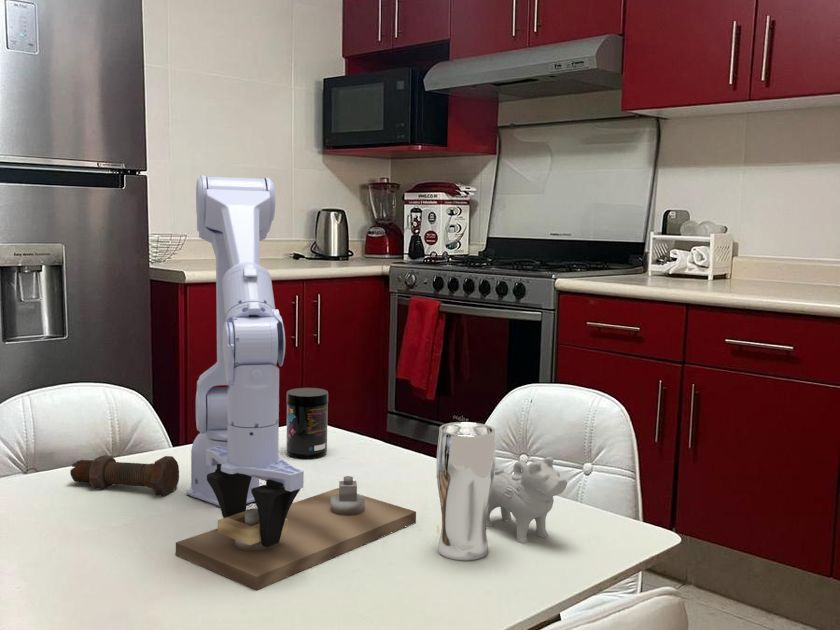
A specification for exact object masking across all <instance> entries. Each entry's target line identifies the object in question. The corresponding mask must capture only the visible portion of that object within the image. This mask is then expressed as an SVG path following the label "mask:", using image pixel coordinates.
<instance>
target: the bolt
mask: <svg viewBox="0 0 840 630" xmlns="http://www.w3.org/2000/svg"><path fill="white" fill-rule="evenodd" d="M71 467H73V468H71V469H70V470H69V471H70V477H71V479H72V480H73V481H74V482H77V483H86V484H89V483H90V485H91V486H92V487H93V488H94V489H96V490H106V489H108V488H110V487H112V486H114V485H117V486H128V487H141V488H142V487H144V488H145V487H146V488H148V489H152V490H153V492H154V495H155V496H156V497H167V496H169V495H172V494H173V493H174V492H175V490H176V488H177V487H178V485H179V480H180V467H179V463H178V461H177V460H176V458H175V457H173V456H171V455H164V456H162V457H161V458H159V459H156V460H155V461H154V462H153V463H143V462H141V463H140V462H121V461H120V462H119V461H116V459H115V458H114V457H113V456H112V455H108V454H105V455H100V456H98V457H96V458H94V459H93V460H90V459H89V460H88V459H80V460H76V462H73V463H72V464H71Z"/></svg>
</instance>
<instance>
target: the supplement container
mask: <svg viewBox="0 0 840 630" xmlns="http://www.w3.org/2000/svg"><path fill="white" fill-rule="evenodd" d="M328 403H329V391H328V390H326V389H324V388H317V387H302V388H301V387H299V388H292V389H289V390H287V391H286V453H287V455H289V456H290V457H291V458H293V459H300V460H309V459H310V460H311V459H318V458H321V457H324V456H325V455H326V453H327V452H328V413H329V412H328V408H329V407H328V405H329V404H328Z"/></svg>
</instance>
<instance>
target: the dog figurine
mask: <svg viewBox="0 0 840 630" xmlns="http://www.w3.org/2000/svg"><path fill="white" fill-rule="evenodd" d="M554 460H555V459H554V458H553V457H552V456H547V457H544V458H543V459H540V460H535V461H531V463H529V464H527V463H526V462H524V461H523V460H518V461H516V462H515V463H514V465H513V472H514V473H513V474H510V473H509V472H507V471H504V470H505V469H504V468H503V467H500V466H496V465H495V476H494V482H493V488H492V493H491V498H490V502H489V506H488V511H487V517H486V529H487V528H493V526H494V525H493V523H492V521H491V517H490V516H491V513H492V511H493V510H495V509H497V508H500V515H501V519H502V520H503V521H505V522H511V521H513V520H512V519H513V518H512V516H513V517H514V519H515V520H516V543H520V544H523V545H524V544H528V541H529V540H528V538H527V535H528V531H529V527H530V524H531V522H532V521H533V520H535V532H536V535H537V536H539V537H545V538H546V537H548V536H549V535H548V531H547V528H546V520H547V519H546V518H547V515H548V513H549V512H550V511H551V510H552V508H553V505H554V501H555V499H554V497H555V496H559V495H561V494H562V493H564V491H565V490H566V488H567V485H568V481H567V480H566V479H565V478H562V477H561V474H560V471H558V470H556V469H555V468H554V466H553V464H554Z"/></svg>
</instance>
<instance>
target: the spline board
mask: <svg viewBox="0 0 840 630" xmlns="http://www.w3.org/2000/svg"><path fill="white" fill-rule="evenodd" d="M338 482H339V483H338V487H337V488H333V489H331V490H328V491H325V492H322V493H320V494H319V493H318V494H316V495H313V496H309V497H307V498H304V499H301V500H298V501H295V502H292V504H291V506H290V509H289V511H288V513H287V516H286V519H288V526H287V532H285V533H282V534H281V537H280V541H279V543H277V544H274V545H271V546H269V547H264V546H262V543H261V542H258V543H255V544H252V545H248V544H245V543H243V542H240V541H238V540H235V539H232V538H230V537H227V536H225V535H222V534H220V533H218V527H217V528H214V529H212V530H211V529H210V530H209V531H206V532H202V533H200V534H197V535H193V536H191V537H188V538H185V539H182V540H179V541H176V542H175V556H177V557H179V558H182V559H184V560H186V561H189V562H191V563H193V564H196V565H197V566H200V567H202V568H205V569H207V570H209V571H212V572H214V573H216V574H218V575H220V576H223V577H225V578H228V579H230V580H232V581H234V582H237V583H239V584H241V585H244V586H246V587H247V588H250V589H252V590H255V591H258V590H260V589H263V588H265V587H267V586H269V585H272V584H275V583H277V582H279V581H282V580H284V579H286V578H289V577H291V576H294V575H296V574H298V573H301V572H303V571H305V570H308V569H310V568H312V567H315V566H317V565H319V564H321V563H323V562H327V561H329V560H331V559H333V558H336V557H338V556H341V555H343V554H346V553H348V552H350V551H352V549H353V550H355V549H357V548H359V546H360V547H362V546H364V545H366V543H367V542H369V543H371V542H370V541H372V540H374V541H376V540H378V539H377V538H379V539H381V538H383V537H385V536H384V535H386V536H388V535H390V534H392V533H391V532H393V533H395V532H397V531H399V530H398V529H400V530H402V529H404V528H403V527H405V526H407V527H409V526H411V524H412V525H414V524H416V523H417V511H415V510H412V509H408V508H405V507H403V506H399V505H396V504H392V503H390V502H386V501H382V500H379V499H377V498H372V497H369V496H365V495H361V494H360V493H358V483H357V482H358V481H357V480H354V476H350V475H345V476H343V480H339V481H338ZM259 523H260V521H259V514H258V509H253V508H246V510H245V524H246V525H249V526H254V525H257V524H259ZM413 523H414V524H413ZM408 525H409V526H408ZM401 528H402V529H401ZM405 528H406V527H405ZM396 530H397V531H396ZM394 531H395V532H394ZM389 533H390V534H389ZM387 534H388V535H387ZM382 536H383V537H382ZM380 537H381V538H380ZM375 539H376V540H375ZM372 542H373V541H372ZM363 544H364V545H363ZM367 544H368V543H367ZM361 545H362V546H361ZM354 548H355V549H354Z"/></svg>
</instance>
